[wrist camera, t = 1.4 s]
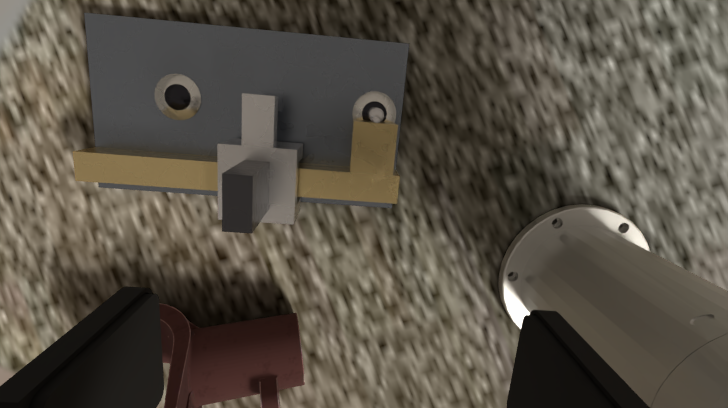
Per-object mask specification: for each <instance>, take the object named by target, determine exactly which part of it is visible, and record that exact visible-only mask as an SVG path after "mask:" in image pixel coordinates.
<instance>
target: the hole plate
mask: <svg viewBox="0 0 728 408" xmlns="http://www.w3.org/2000/svg"><path fill="white" fill-rule="evenodd" d="M84 15H85V27H86V39H87V51H88V63H89V75H90V87H91V100H92V112H93V124H94V136H95V147H103V148H116V149H129V150H142V151H155V152H168V153H181V154H194V155H207V156H217V144H218V143H221V142H223V141H226V140H229V139H232V138H240V139H242V93H247V94H258V95H270V96H278V115H277V141H278V142H290V143H303V157H302V159H301V160H300V161H299V163H311V164H324V165H337V166H350V156H351V143H352V130H353V119H356V120H367V121H371V120H370V119H369V118H368V111H369V109H370V108H372V107H377V108H380V109H381V110H382V111H383V112H384V118H383V120H382V121H381V122H392V123H396V124H397V125H398V130H397V140H396V150H395V159H394V169H393V170H396V163H397V154H398V144H399V135H400V125H401V116H402V106H403V97H404V87H405V78H406V68H407V59H408V49H409V44H406V43H396V42H385V41H375V40H365V39H354V38H344V37H333V36H323V35H313V34H302V33H292V32H281V31H271V30H260V29H250V28H240V27H229V26H219V25H208V24H198V23H187V22H177V21H167V20H156V19H146V18H135V17H125V16H114V15H104V14H94V13H84ZM98 184H99V187H103V188H117V189H131V190H145V191H159V192H173V193H187V194H201V195H215V196H218V191H211V190H197V189H183V188H170V187H156V186H142V185H128V184H114V183H100V182H98ZM301 202H313V203H327V204H341V205H356V206H370V207H384V208H392V203H378V202H364V201H350V200H336V199H323V198H309V197H301Z"/></svg>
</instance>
